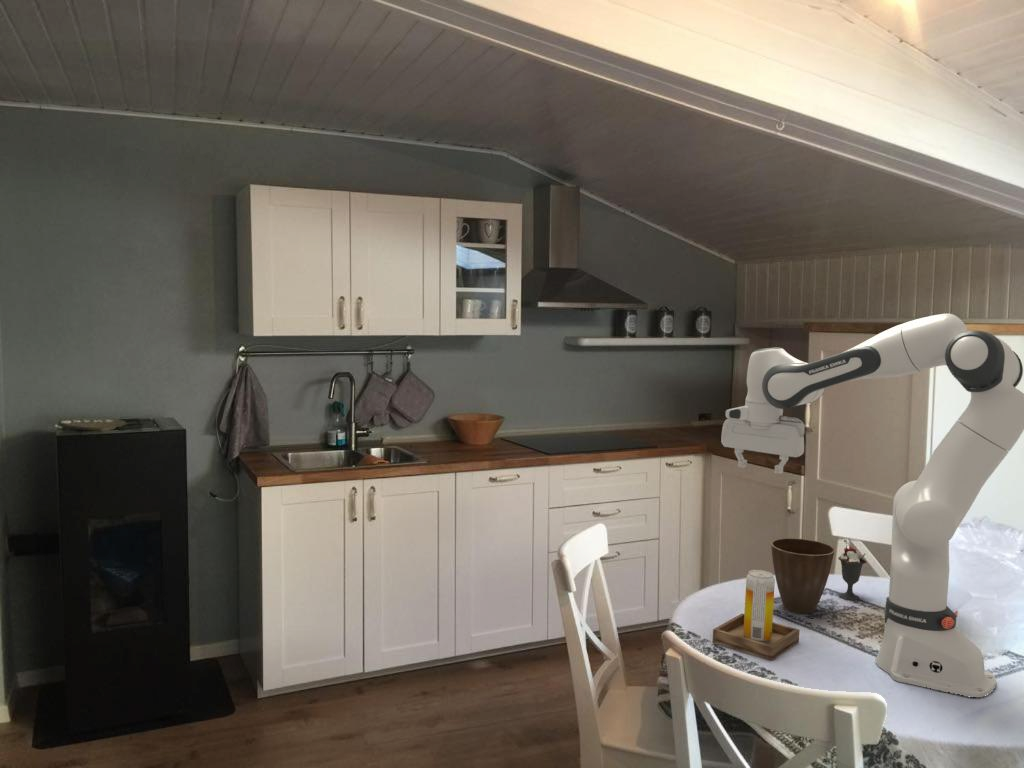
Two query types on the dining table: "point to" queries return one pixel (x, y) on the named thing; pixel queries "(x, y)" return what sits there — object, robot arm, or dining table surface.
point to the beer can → (759, 605)
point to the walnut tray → (735, 639)
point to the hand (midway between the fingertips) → (760, 470)
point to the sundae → (851, 570)
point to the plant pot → (801, 572)
